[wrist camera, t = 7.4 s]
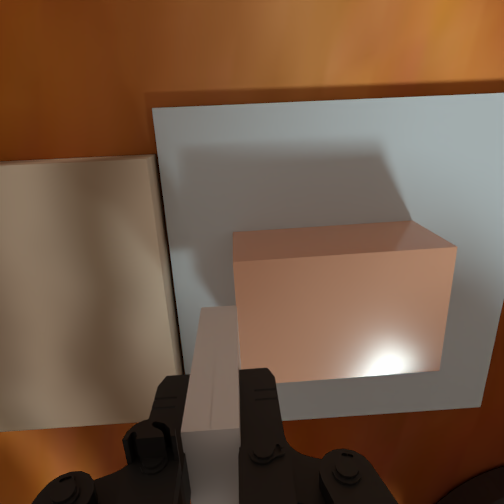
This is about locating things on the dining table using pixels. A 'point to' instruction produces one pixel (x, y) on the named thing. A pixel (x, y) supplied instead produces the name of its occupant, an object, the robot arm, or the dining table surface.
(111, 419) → the beige flat rectangular piece
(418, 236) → the pink block
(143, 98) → the dining table surface
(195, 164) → the mat
